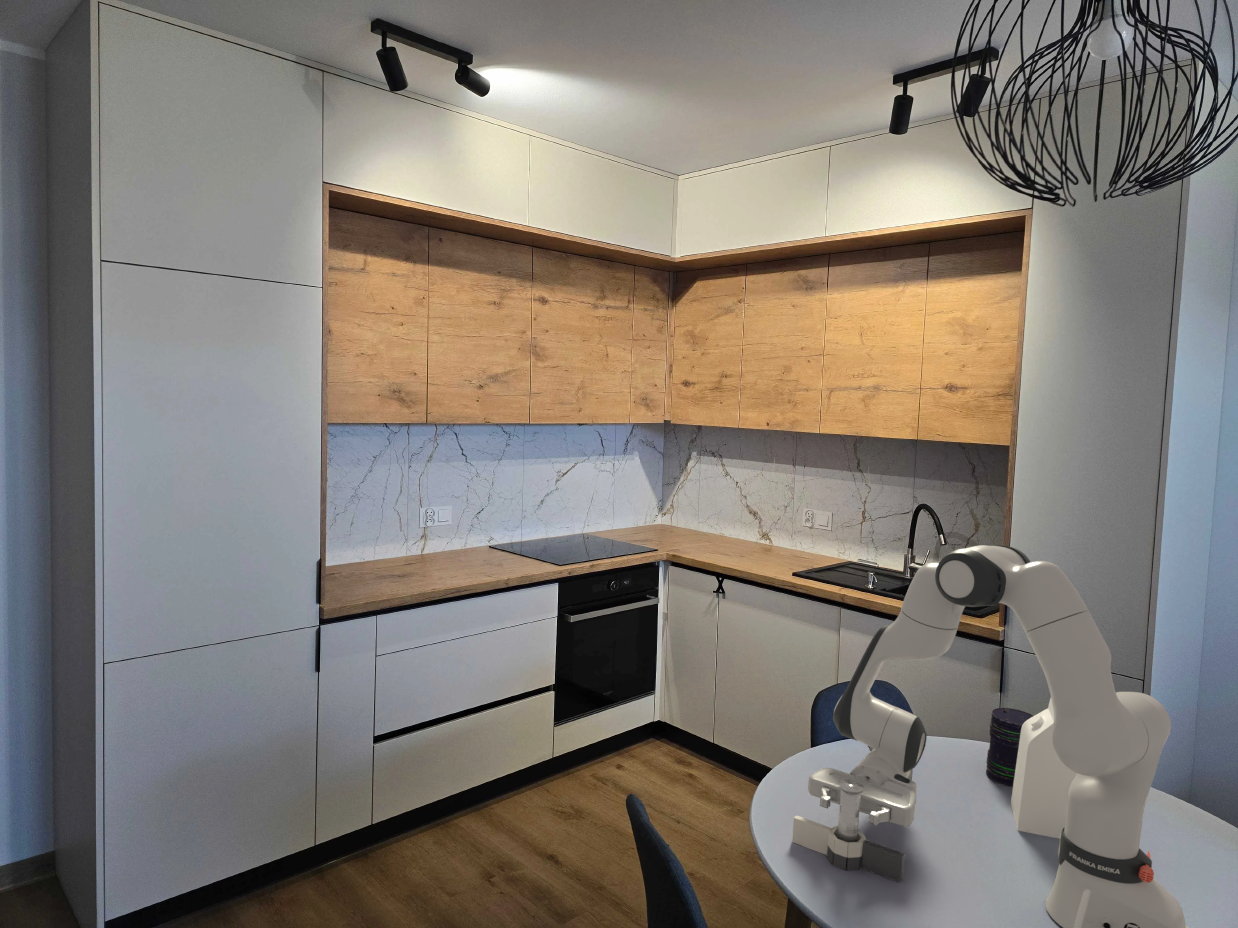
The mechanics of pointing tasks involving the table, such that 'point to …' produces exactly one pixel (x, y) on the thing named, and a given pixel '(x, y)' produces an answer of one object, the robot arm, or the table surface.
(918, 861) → the table surface
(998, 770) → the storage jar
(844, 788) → the hinge pin
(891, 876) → the hinge leaf
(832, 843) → the hinge leaf
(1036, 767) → the milk
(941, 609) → the robot arm
